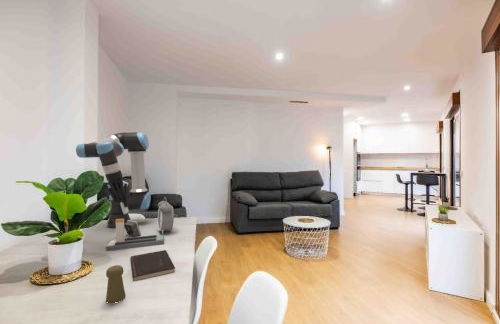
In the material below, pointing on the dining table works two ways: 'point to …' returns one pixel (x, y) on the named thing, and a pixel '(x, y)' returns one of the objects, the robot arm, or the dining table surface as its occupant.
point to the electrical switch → (132, 228)
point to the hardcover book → (151, 265)
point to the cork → (115, 284)
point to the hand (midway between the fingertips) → (126, 212)
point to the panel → (136, 242)
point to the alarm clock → (165, 216)
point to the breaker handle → (120, 230)
